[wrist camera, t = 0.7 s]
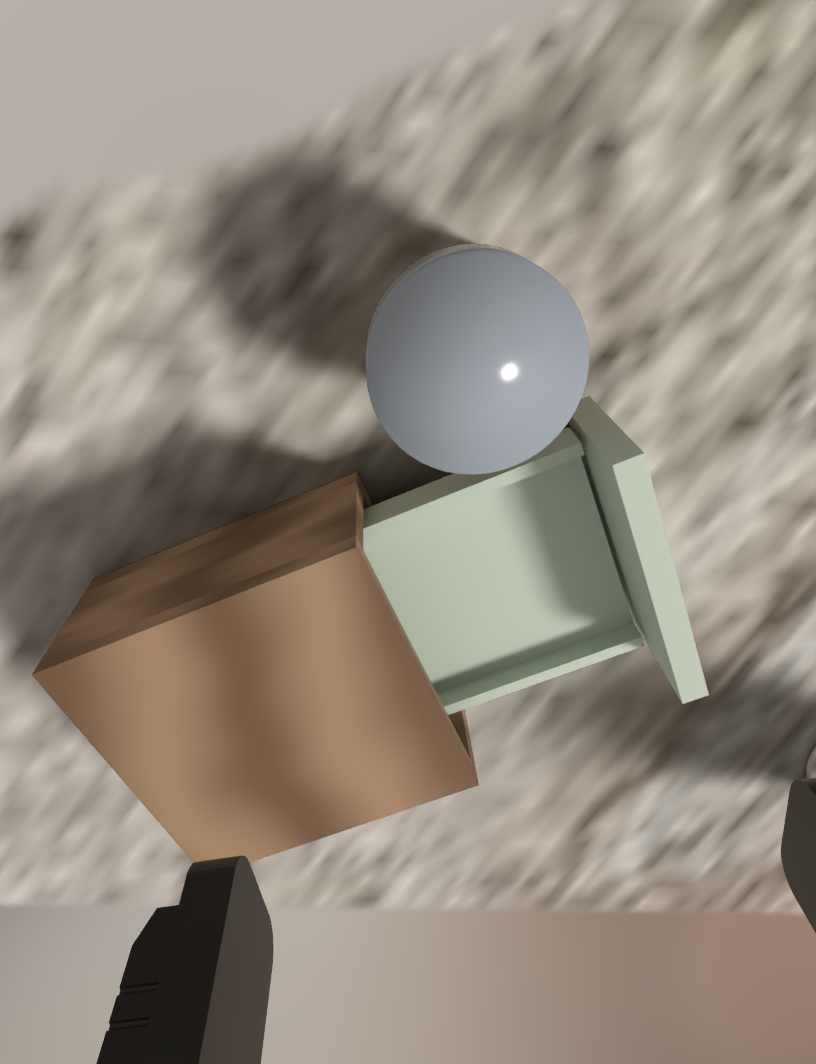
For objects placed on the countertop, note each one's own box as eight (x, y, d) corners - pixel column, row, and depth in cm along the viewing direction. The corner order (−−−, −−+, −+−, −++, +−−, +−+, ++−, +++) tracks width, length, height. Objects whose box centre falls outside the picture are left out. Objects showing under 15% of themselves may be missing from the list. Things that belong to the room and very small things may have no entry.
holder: (357, 471, 28) (355, 547, 22) (459, 681, 33) (478, 785, 28) (93, 579, 29) (31, 674, 24) (230, 763, 35) (206, 876, 29)
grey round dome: (535, 206, 20) (552, 210, 18) (594, 406, 23) (613, 426, 21) (331, 297, 21) (328, 309, 19) (412, 479, 24) (416, 504, 22)
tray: (588, 396, 27) (644, 453, 21) (651, 606, 31) (709, 695, 26) (294, 514, 28) (279, 595, 23) (395, 698, 33) (401, 799, 28)
